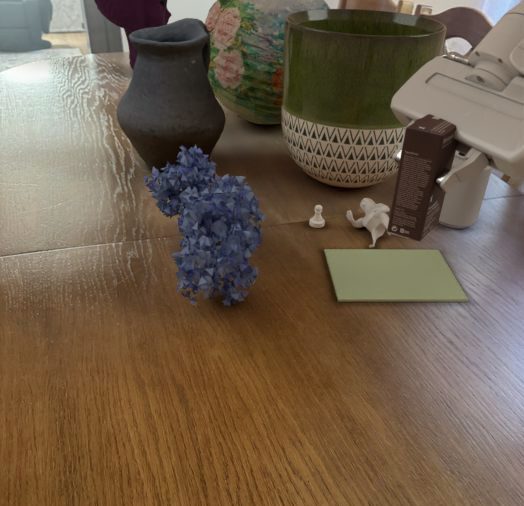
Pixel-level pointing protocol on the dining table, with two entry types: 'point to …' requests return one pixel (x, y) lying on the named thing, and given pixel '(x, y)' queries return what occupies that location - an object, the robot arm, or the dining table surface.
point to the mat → (392, 276)
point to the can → (464, 198)
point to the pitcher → (171, 94)
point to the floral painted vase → (250, 54)
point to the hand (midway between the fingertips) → (418, 175)
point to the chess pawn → (317, 218)
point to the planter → (350, 89)
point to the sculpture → (134, 17)
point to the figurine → (372, 218)
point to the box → (421, 177)
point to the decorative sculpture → (209, 225)
